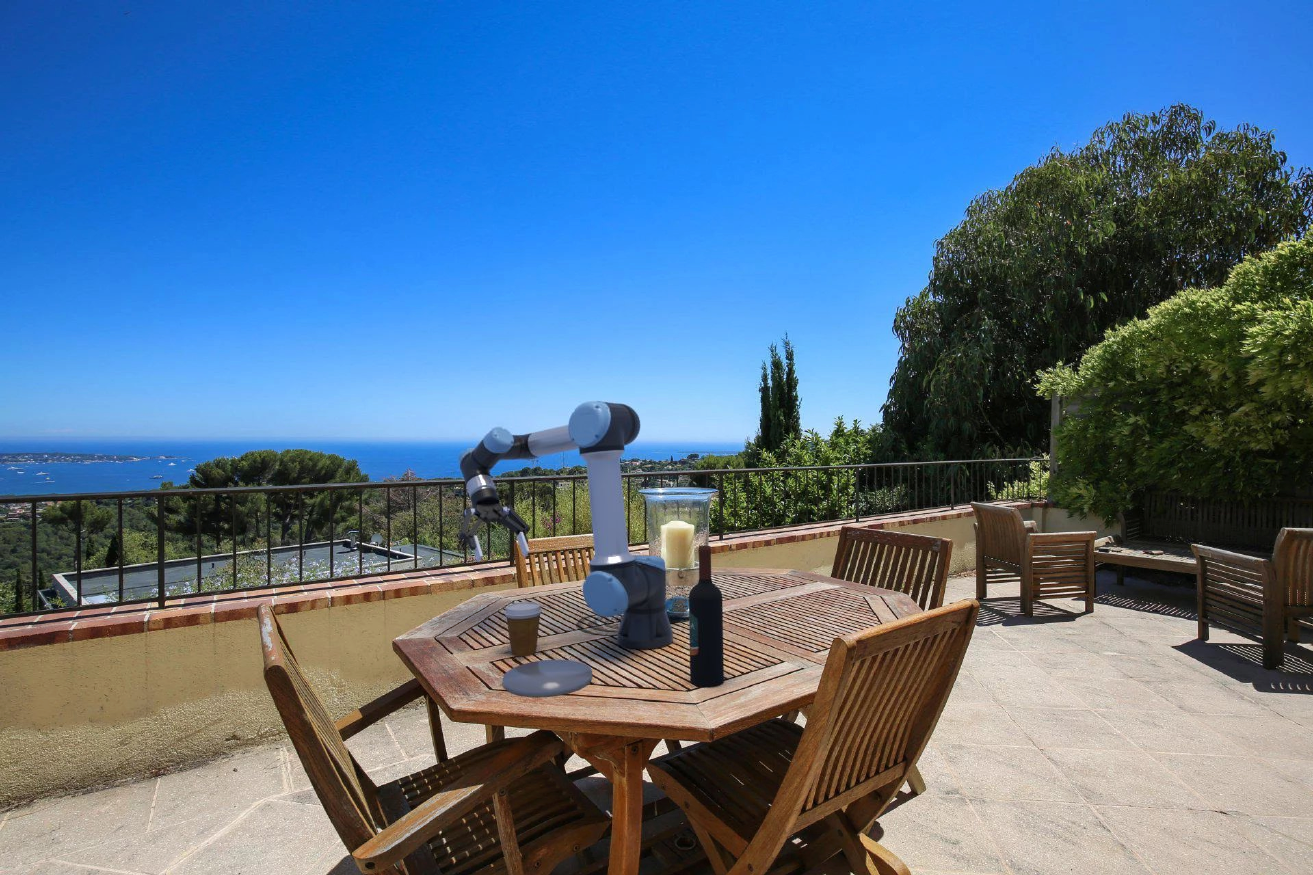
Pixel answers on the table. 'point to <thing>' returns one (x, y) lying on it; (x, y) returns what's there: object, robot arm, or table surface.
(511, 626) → the disposable coffee cup
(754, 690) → the table surface
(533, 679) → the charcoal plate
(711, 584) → the wine bottle
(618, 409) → the robot arm
